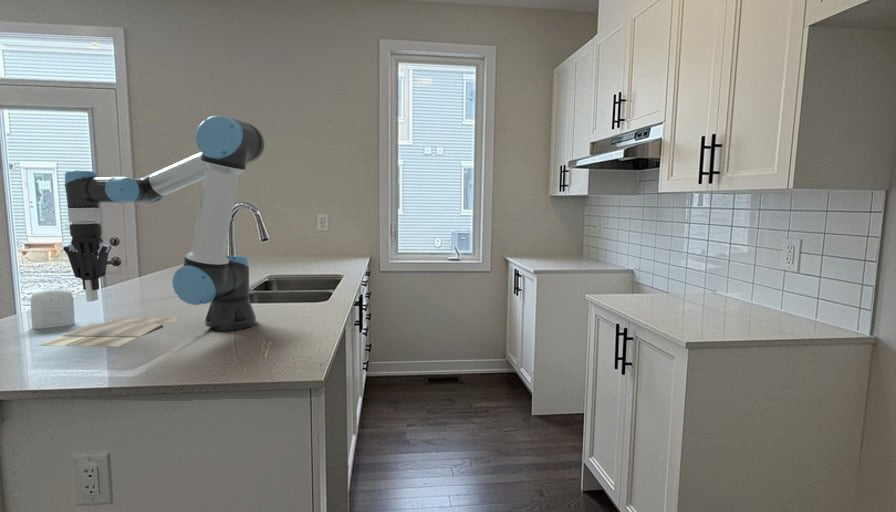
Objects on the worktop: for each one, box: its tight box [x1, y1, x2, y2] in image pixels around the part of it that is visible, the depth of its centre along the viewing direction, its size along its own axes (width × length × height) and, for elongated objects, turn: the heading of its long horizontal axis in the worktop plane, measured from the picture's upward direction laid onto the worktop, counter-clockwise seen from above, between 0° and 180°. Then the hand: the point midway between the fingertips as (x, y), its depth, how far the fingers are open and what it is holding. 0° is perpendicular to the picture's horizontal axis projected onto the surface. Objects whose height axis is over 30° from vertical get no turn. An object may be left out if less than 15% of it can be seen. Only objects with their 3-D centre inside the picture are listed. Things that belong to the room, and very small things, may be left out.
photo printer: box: [29, 289, 76, 330], centre depth 146 cm, size 10×4×12 cm, turn 123°
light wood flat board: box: [37, 334, 140, 348], centre depth 132 cm, size 22×9×1 cm, turn 90°
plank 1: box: [64, 322, 164, 338], centre depth 143 cm, size 22×11×1 cm, turn 90°
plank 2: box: [106, 317, 181, 324], centre depth 155 cm, size 20×6×1 cm, turn 95°
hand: (92, 300), depth 145 cm, fingers closed
